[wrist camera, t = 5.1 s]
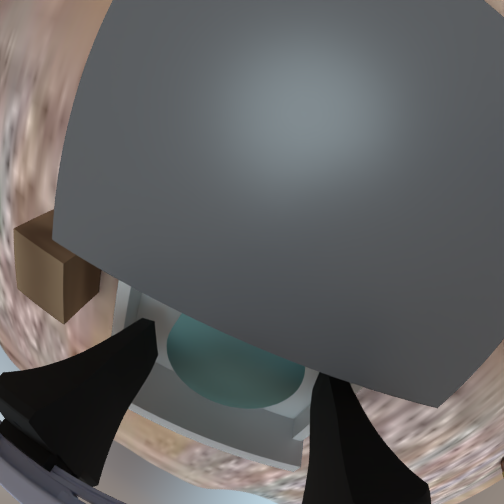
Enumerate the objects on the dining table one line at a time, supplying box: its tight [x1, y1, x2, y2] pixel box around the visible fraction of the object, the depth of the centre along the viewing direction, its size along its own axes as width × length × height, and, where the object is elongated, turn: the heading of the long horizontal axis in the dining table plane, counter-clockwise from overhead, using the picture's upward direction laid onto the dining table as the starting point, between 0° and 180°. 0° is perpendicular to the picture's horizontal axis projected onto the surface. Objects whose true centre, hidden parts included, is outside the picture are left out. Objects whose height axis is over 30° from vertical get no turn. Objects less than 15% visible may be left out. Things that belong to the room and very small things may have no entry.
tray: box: [112, 280, 363, 472], centre depth 12 cm, size 11×10×4 cm
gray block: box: [52, 0, 504, 408], centre depth 8 cm, size 14×11×6 cm
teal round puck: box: [167, 313, 305, 409], centre depth 12 cm, size 6×6×2 cm
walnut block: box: [14, 210, 101, 324], centre depth 13 cm, size 4×4×4 cm
